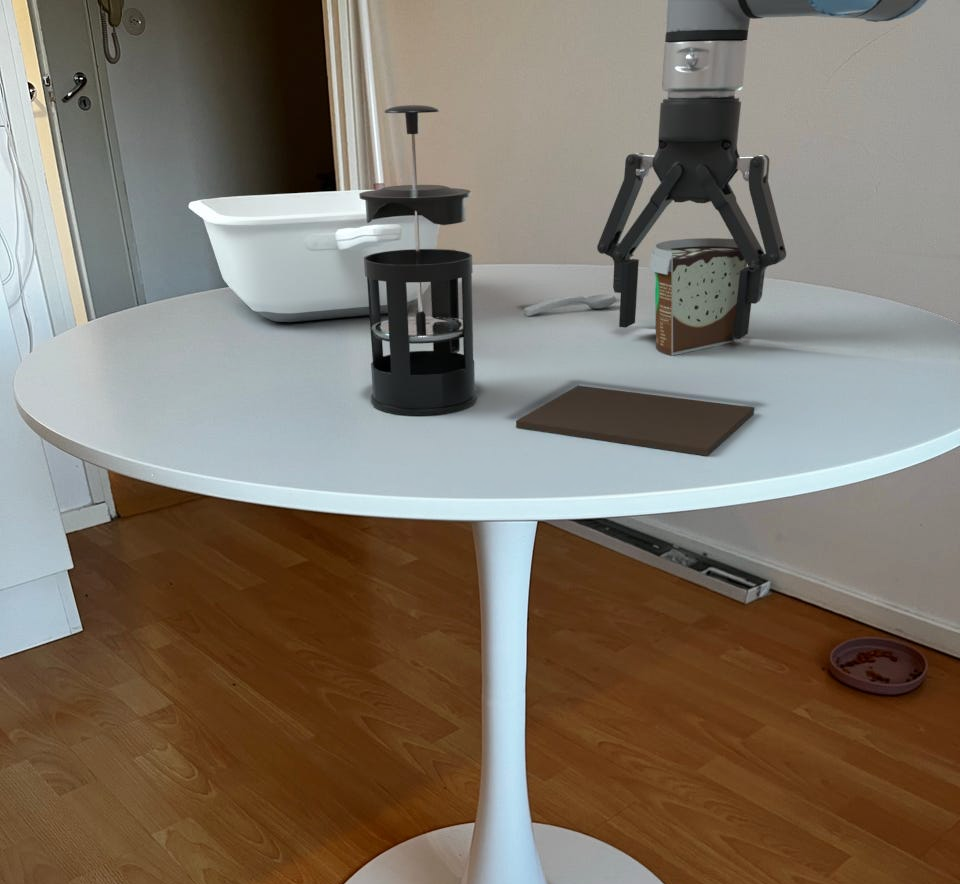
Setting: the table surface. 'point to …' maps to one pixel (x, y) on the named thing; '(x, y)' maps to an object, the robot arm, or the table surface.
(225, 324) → the table surface
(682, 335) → the food container
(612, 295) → the spoon
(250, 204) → the white dish tub
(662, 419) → the mat
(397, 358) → the french press
